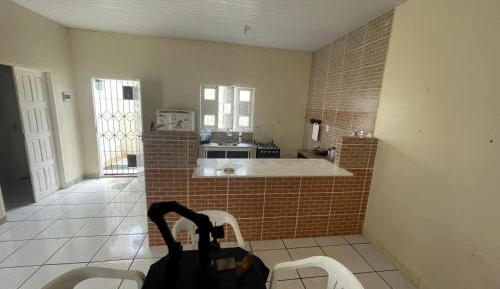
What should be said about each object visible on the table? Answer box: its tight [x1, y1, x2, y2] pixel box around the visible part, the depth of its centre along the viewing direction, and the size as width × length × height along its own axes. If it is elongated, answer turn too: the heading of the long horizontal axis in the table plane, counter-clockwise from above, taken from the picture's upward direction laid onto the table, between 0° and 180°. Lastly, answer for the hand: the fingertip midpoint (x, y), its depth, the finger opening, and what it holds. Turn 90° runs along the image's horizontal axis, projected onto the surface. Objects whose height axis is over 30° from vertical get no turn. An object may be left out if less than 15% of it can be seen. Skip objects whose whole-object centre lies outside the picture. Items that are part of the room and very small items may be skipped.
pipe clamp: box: [235, 251, 254, 277], centre depth 116 cm, size 12×4×6 cm, turn 144°
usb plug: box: [195, 259, 214, 272], centre depth 115 cm, size 9×4×4 cm, turn 105°
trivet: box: [215, 257, 236, 272], centre depth 119 cm, size 10×8×1 cm
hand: (204, 266), depth 115 cm, fingers open, 8 cm apart
